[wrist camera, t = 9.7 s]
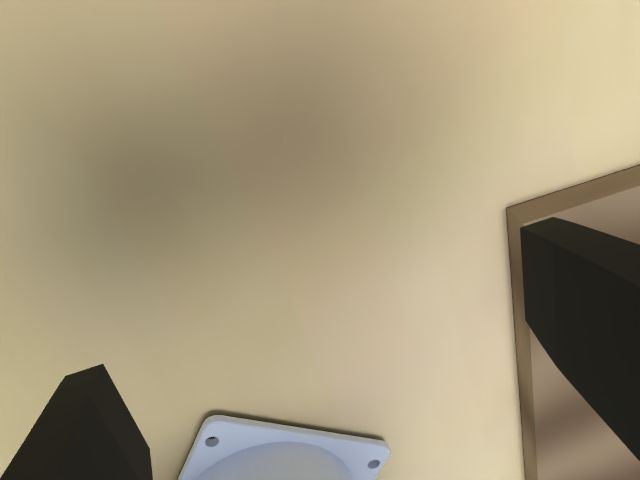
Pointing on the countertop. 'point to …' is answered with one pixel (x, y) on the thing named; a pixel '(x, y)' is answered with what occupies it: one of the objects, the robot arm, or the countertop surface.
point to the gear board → (537, 367)
